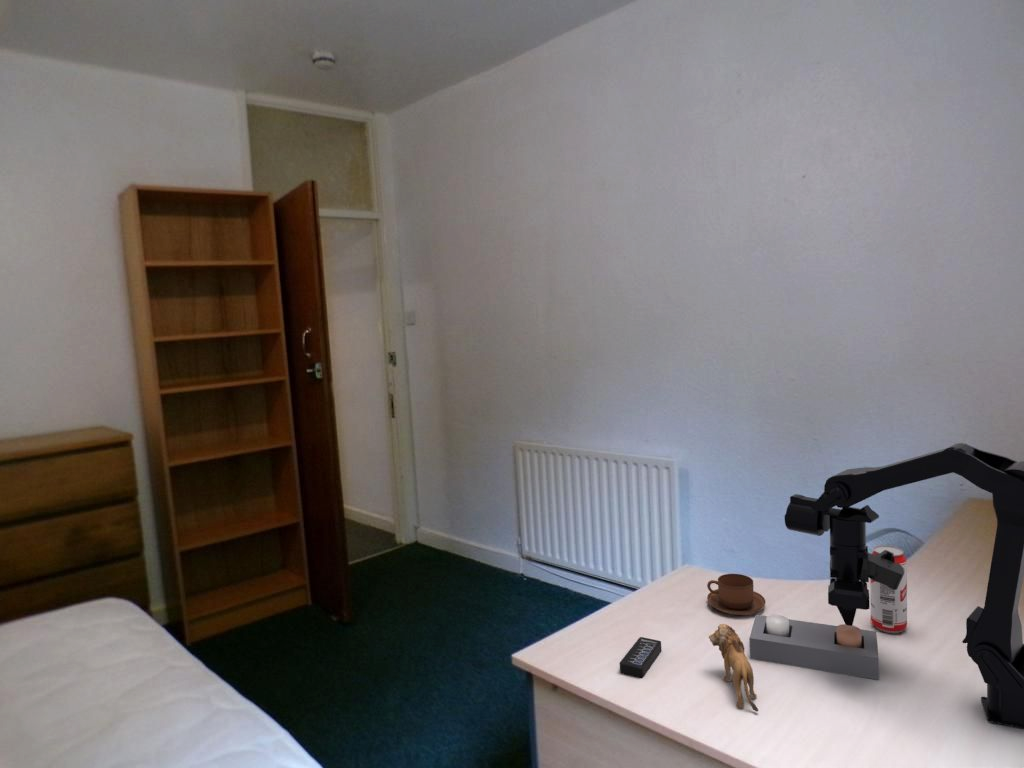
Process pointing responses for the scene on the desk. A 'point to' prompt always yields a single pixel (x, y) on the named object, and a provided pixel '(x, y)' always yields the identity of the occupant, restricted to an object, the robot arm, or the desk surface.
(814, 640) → the plug block
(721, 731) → the desk surface
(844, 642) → the terracotta plug
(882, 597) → the beer can
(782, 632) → the grey piece
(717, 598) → the cup and saucer
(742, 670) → the lion figurine
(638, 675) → the multiport hub
